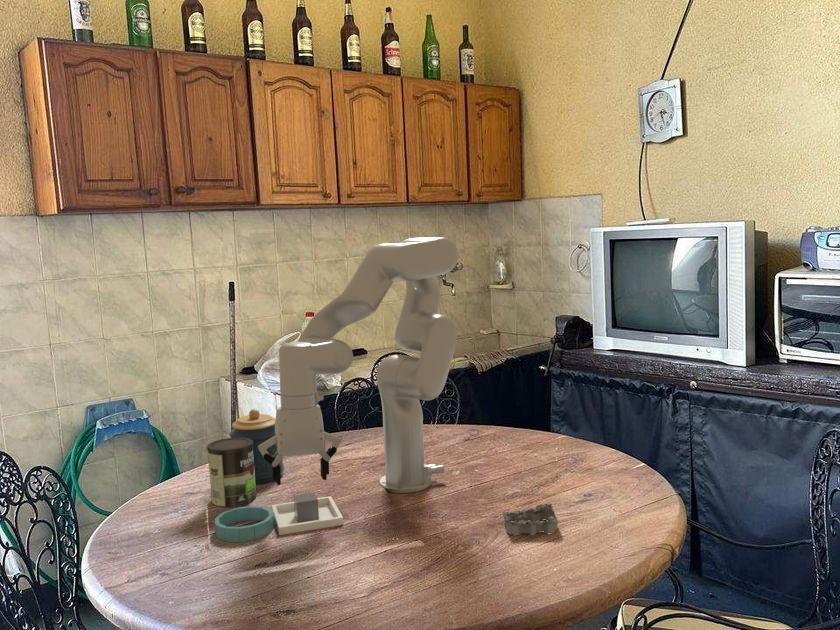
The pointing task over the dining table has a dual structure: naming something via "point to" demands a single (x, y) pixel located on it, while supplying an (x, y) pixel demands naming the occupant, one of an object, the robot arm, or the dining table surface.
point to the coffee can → (232, 472)
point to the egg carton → (535, 516)
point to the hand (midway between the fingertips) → (301, 480)
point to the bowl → (246, 531)
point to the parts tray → (327, 518)
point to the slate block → (306, 507)
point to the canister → (258, 441)
